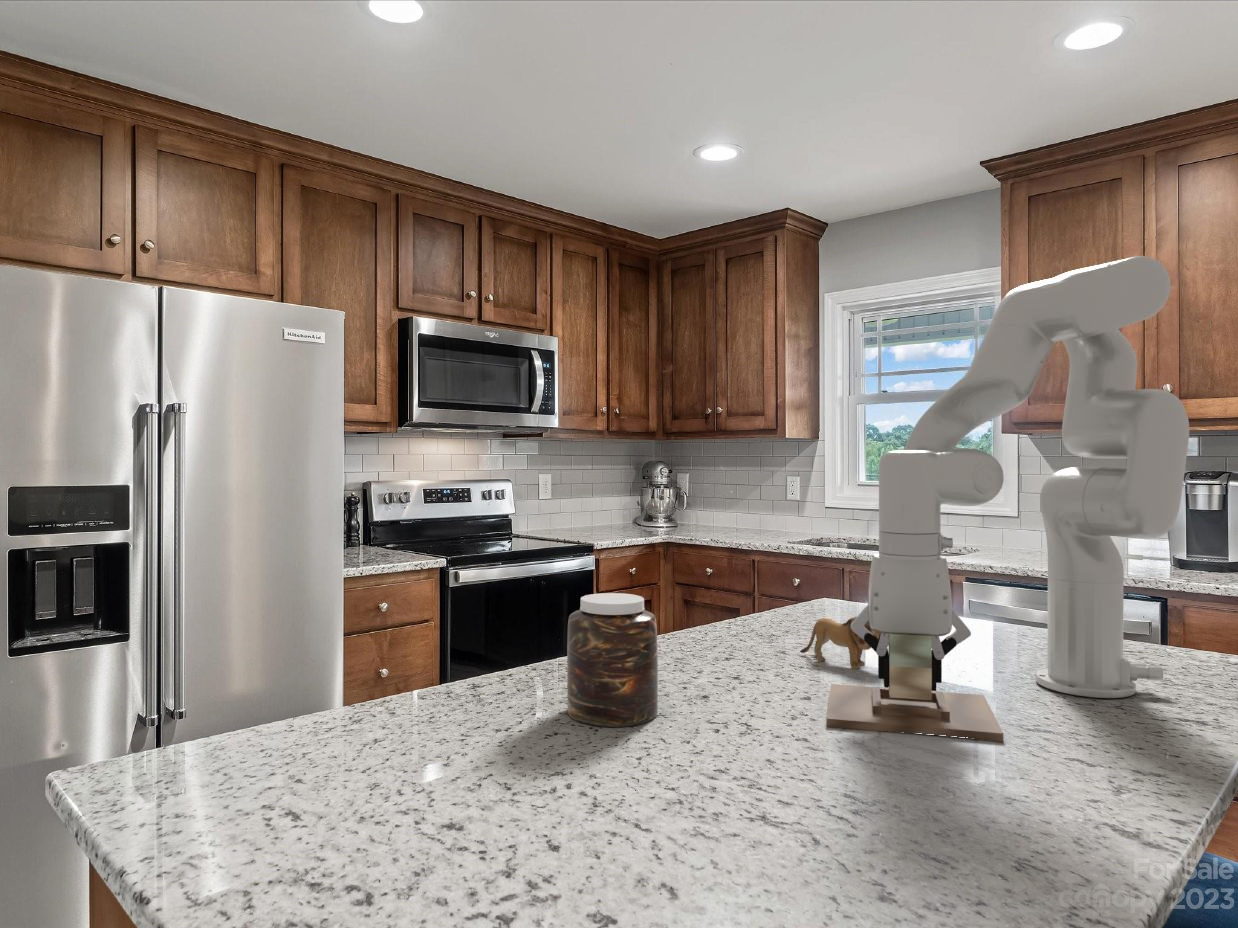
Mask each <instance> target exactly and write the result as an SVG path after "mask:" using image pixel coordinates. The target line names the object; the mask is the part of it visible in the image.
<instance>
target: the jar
mask: <svg viewBox="0 0 1238 928" xmlns="http://www.w3.org/2000/svg"><path fill="white" fill-rule="evenodd" d="M567 622H568V623H567V642H566V643H567V646H566V648H567V649H566V650H567V653H566V654H567V655H566V656H567V657H566V658H567V659H566V660H567V661H566V665H567V667H566V669H567V670H566V672H567V673H566V674H567V678H566V679H567V683H566V684H567V685H566V686H567V689H566V691H567V693H566V695H567V696H566V697H567V698H566V699H567V701H566V702H567V714H568V716H569V717H570V719H572V720H575V721H576V722H578V723H582V724H585V725H589V726H590V725H591V726H596V727H602V728H603V727H607V728H621V727H633V726H638V725H643V724H646V723H649V722H651V721H653V720H654V719H656V717H657V716H658V708H659V707H658V703H659V702H658V701H659V699H658V697H659V696H658V693H659V692H658V690H659V689H658V687H659V685H658V684H659V683H658V678H659V677H658V675H659V669H658V665H659V663H658V660H659V659H658V658H659V657H658V655H659V654H658V626H657V623H658V622H657V618H656V615H655V614H653V613H652V612H650V611H648V610H646V609H645V598H644V597H643V596H641V595H637V594H632V593H622V592H621V593H620V592H618V593H617V592H603V593H602V592H601V593H593V594H592V593H591V594H585V595H584V596H581V597H580V607H579V610H575V611H573V612H572V613H570V614H569V616H568V621H567Z"/></svg>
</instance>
